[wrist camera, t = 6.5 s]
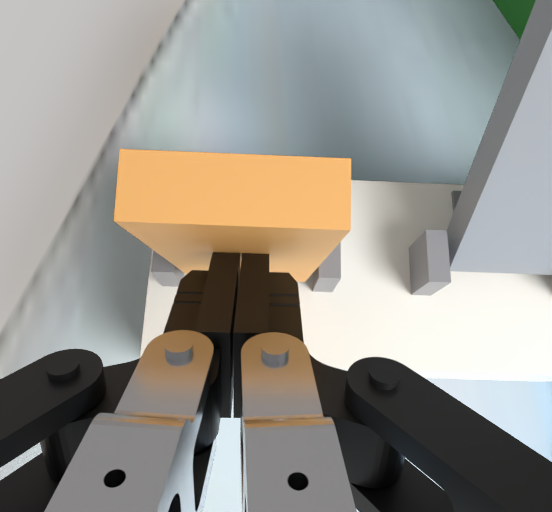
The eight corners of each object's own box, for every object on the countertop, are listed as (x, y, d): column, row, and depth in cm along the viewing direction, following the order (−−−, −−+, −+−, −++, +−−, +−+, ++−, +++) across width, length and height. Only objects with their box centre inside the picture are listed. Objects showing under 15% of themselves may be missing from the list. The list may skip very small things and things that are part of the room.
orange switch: (309, 248, 20) (361, 159, 9) (308, 283, 19) (361, 230, 9) (190, 244, 19) (109, 147, 9) (188, 278, 19) (102, 221, 9)
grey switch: (546, 257, 20) (716, -19, 13) (560, 282, 19) (752, -1, 12) (433, 253, 20) (538, -27, 13) (440, 277, 19) (560, -10, 12)
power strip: (582, 224, 25) (681, 168, 19) (609, 383, 23) (731, 376, 17) (175, 208, 25) (149, 146, 19) (159, 369, 22) (124, 356, 16)
